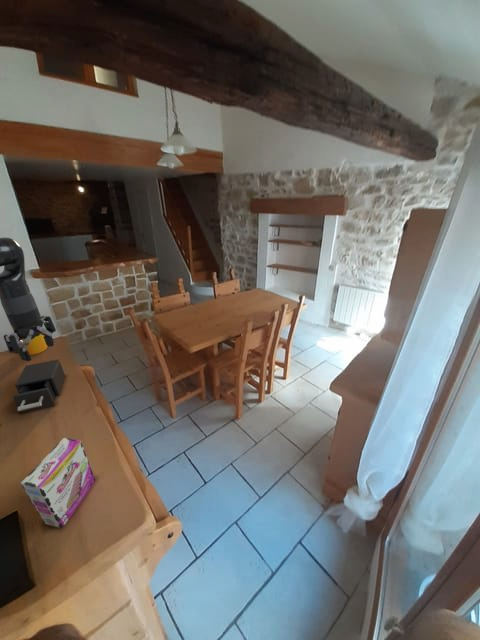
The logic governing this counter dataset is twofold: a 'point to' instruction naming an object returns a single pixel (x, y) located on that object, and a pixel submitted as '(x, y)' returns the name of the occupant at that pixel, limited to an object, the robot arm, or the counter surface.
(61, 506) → the candy bar box
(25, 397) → the drawer
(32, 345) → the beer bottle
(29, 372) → the dark grey cabinet
